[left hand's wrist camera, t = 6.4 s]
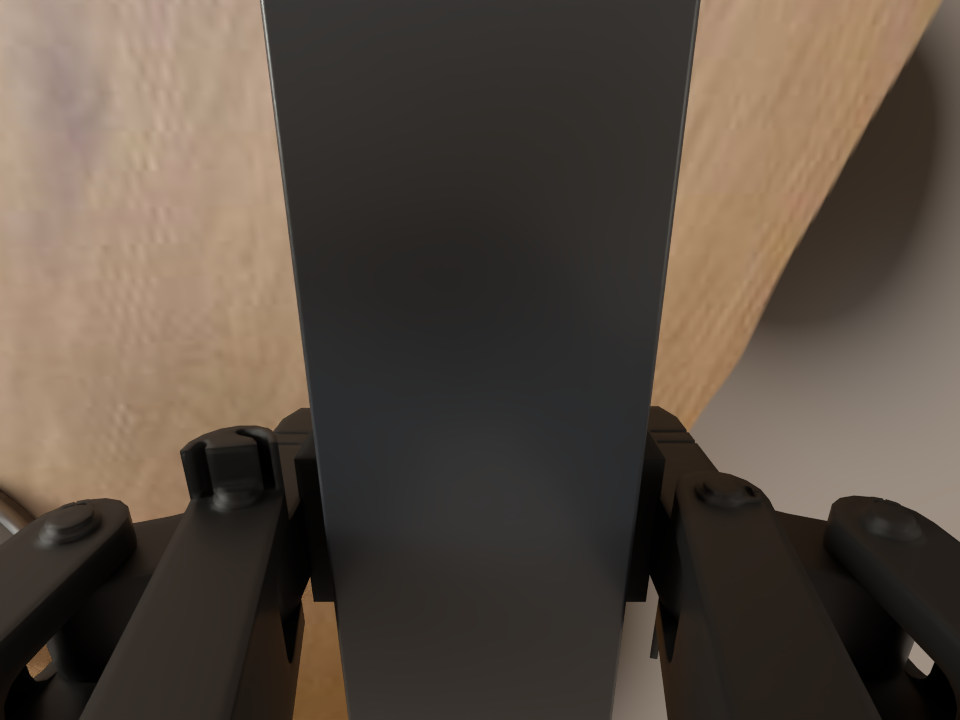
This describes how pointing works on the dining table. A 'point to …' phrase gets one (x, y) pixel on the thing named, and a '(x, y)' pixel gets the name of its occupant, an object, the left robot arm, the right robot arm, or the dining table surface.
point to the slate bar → (480, 329)
